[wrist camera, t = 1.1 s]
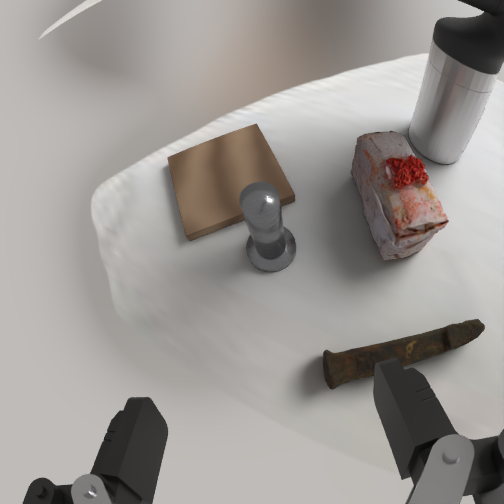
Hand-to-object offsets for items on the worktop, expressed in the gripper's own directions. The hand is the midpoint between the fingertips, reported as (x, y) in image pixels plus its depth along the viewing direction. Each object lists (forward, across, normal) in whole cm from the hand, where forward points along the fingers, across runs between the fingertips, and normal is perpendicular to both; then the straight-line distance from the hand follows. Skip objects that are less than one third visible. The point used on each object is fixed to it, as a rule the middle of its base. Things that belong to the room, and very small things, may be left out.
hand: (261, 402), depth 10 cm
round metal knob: (+26, -1, +4) cm, 27 cm away
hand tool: (+16, -13, +15) cm, 26 cm away
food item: (+28, -16, +4) cm, 32 cm away
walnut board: (+34, +3, -4) cm, 35 cm away
